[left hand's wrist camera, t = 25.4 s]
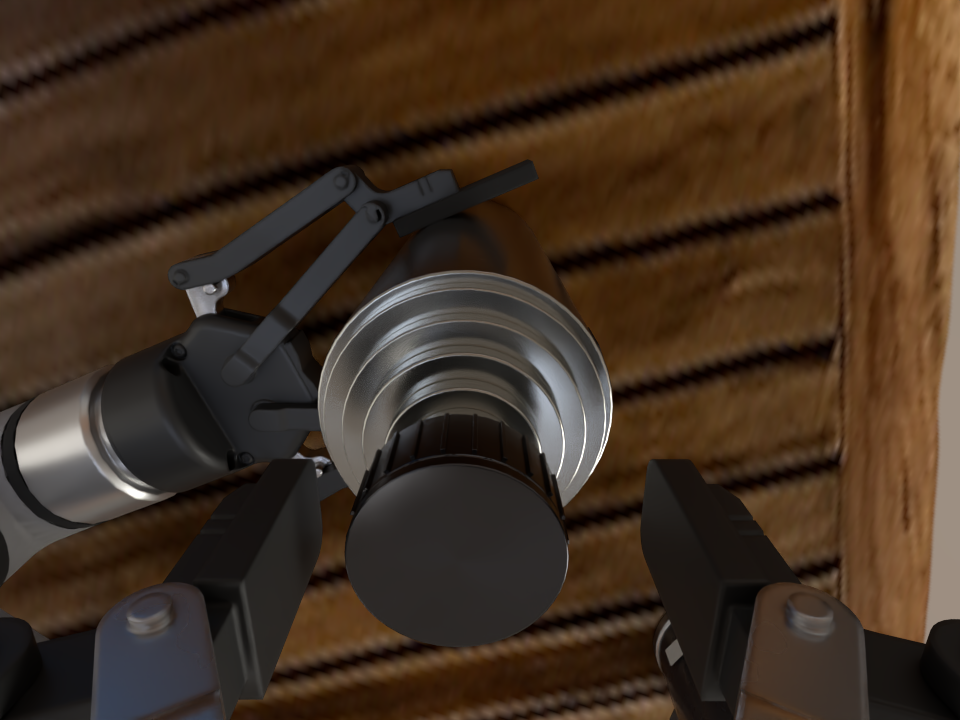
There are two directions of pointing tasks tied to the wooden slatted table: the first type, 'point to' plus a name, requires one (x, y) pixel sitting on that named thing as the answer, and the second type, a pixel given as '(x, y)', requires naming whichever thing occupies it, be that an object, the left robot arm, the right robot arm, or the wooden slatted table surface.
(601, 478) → the wooden slatted table surface
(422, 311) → the bottle
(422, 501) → the cap
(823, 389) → the wooden slatted table surface
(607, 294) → the wooden slatted table surface
